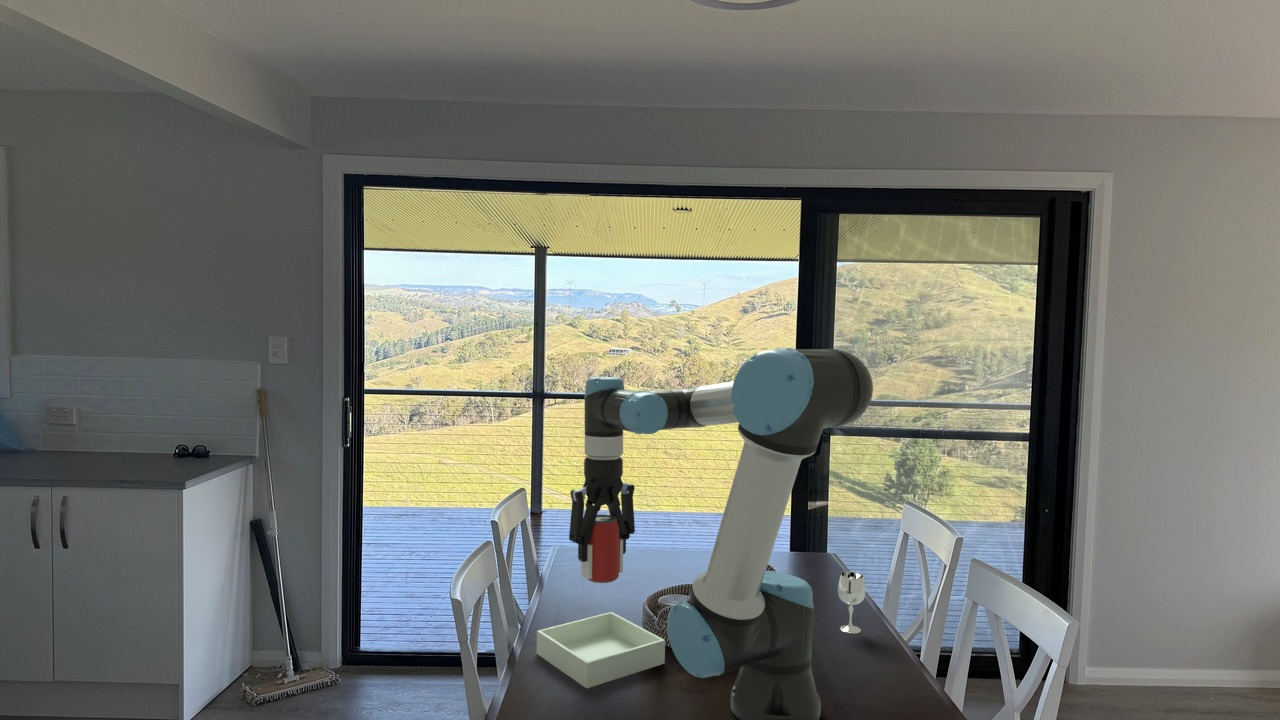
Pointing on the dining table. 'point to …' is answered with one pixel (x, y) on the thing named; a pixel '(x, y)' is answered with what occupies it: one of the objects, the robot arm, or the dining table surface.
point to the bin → (600, 648)
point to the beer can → (605, 549)
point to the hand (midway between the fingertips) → (602, 573)
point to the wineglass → (851, 595)
